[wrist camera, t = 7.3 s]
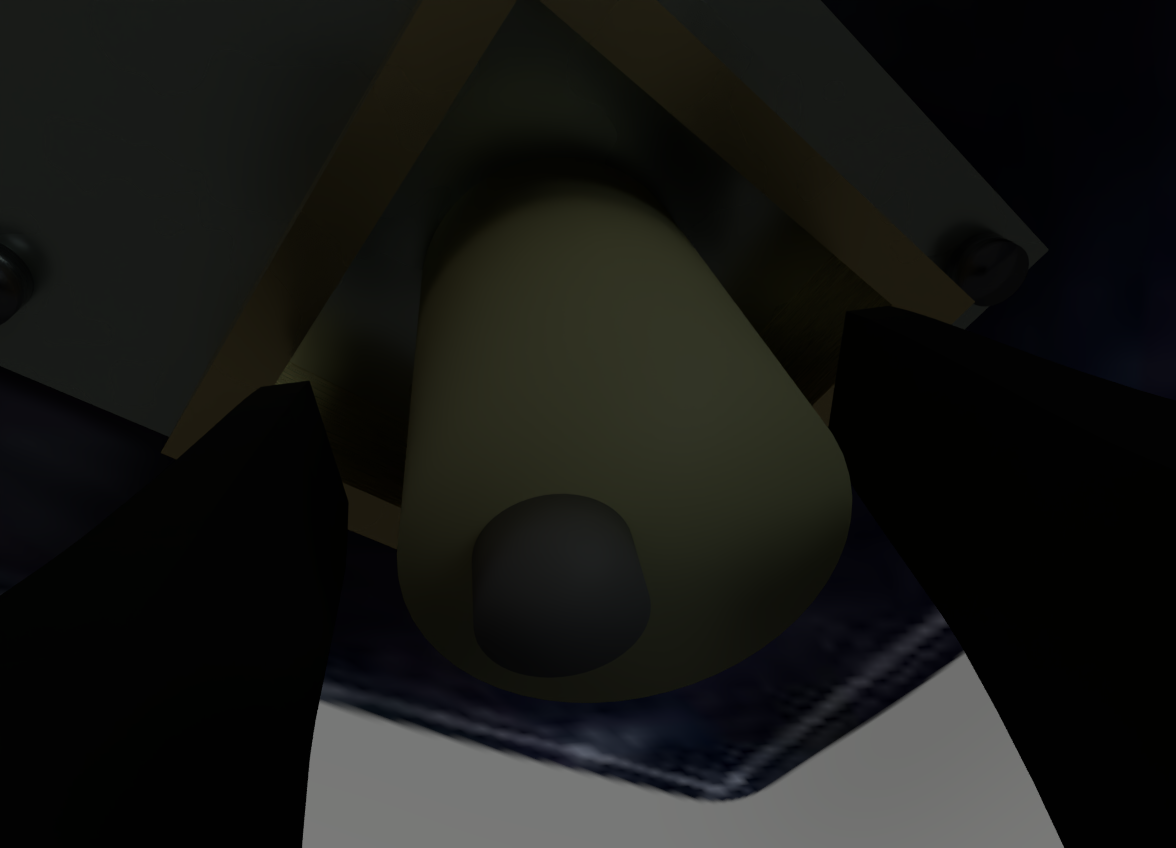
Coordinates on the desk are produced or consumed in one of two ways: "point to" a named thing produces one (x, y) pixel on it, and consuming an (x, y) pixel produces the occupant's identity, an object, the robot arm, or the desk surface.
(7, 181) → the mounting bracket
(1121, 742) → the robot arm
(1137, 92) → the desk surface
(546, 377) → the switch lever
